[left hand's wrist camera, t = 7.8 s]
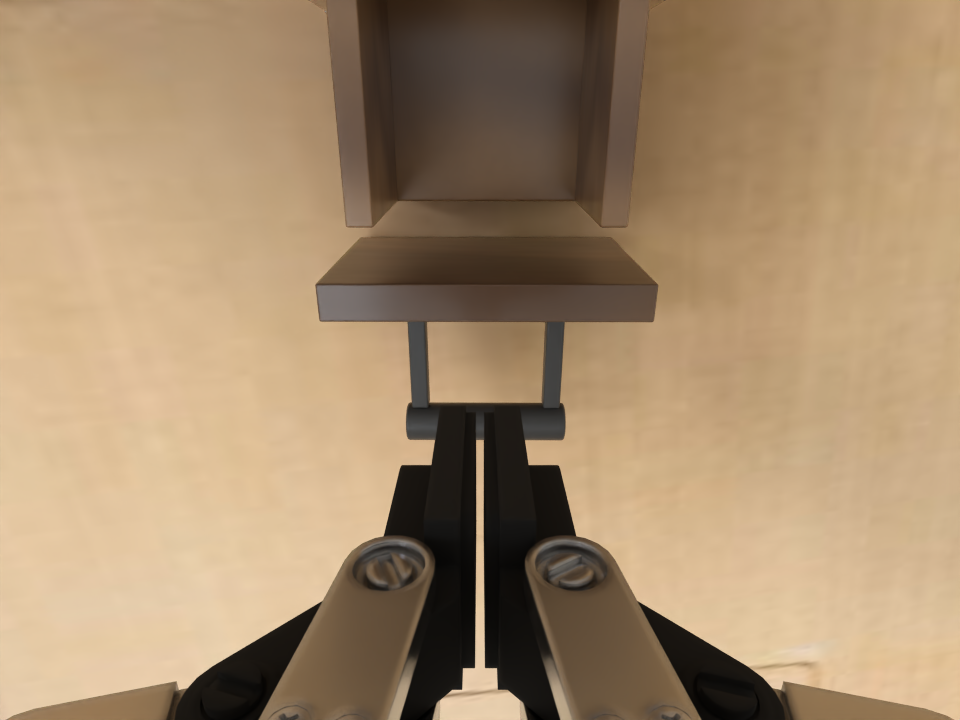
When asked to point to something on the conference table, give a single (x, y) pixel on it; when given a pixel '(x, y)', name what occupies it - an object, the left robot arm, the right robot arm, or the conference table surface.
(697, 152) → the conference table surface
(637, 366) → the conference table surface
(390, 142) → the drawer
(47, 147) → the conference table surface
